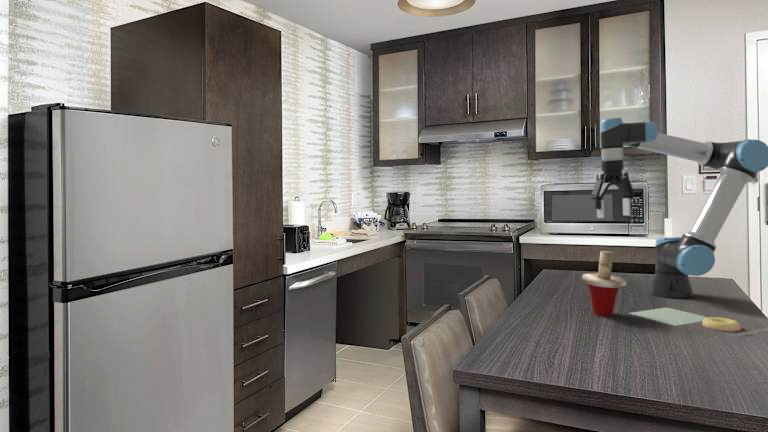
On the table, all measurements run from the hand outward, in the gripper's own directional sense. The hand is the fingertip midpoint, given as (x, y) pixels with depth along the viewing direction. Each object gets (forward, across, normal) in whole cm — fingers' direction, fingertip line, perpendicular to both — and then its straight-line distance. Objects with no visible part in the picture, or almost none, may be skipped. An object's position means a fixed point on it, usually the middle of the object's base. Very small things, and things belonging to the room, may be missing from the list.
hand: (613, 216), depth 196 cm
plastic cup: (+33, +20, +12) cm, 40 cm away
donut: (+34, +3, +41) cm, 53 cm away
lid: (+20, +20, +12) cm, 31 cm away
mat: (+33, +4, +25) cm, 42 cm away
